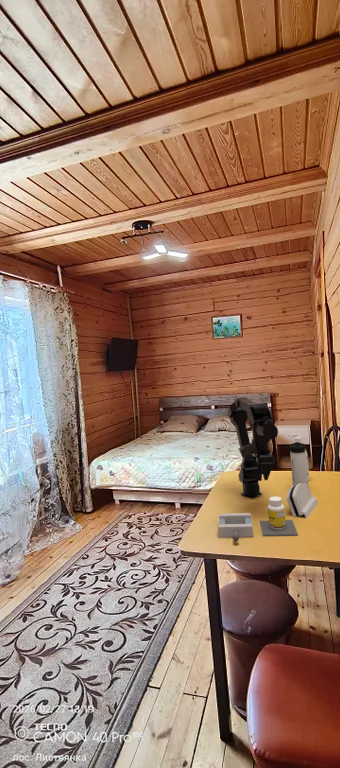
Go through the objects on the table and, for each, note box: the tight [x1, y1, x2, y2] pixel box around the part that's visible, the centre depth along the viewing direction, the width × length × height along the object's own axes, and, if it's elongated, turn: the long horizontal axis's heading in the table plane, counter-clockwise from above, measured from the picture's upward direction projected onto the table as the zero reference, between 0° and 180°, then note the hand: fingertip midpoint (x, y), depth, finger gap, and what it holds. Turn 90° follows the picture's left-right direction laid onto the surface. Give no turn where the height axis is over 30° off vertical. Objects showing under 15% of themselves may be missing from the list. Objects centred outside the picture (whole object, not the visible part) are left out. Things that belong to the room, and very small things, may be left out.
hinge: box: [286, 483, 319, 519], centre depth 141 cm, size 17×5×10 cm, turn 145°
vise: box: [217, 512, 254, 542], centre depth 126 cm, size 16×11×4 cm, turn 171°
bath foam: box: [294, 436, 310, 481], centre depth 173 cm, size 7×7×20 cm
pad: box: [259, 519, 299, 537], centre depth 127 cm, size 11×11×1 cm
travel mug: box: [289, 441, 309, 487], centre depth 161 cm, size 6×7×20 cm
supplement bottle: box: [267, 496, 286, 530], centre depth 127 cm, size 5×5×10 cm
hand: (263, 477), depth 143 cm, fingers open, 9 cm apart
